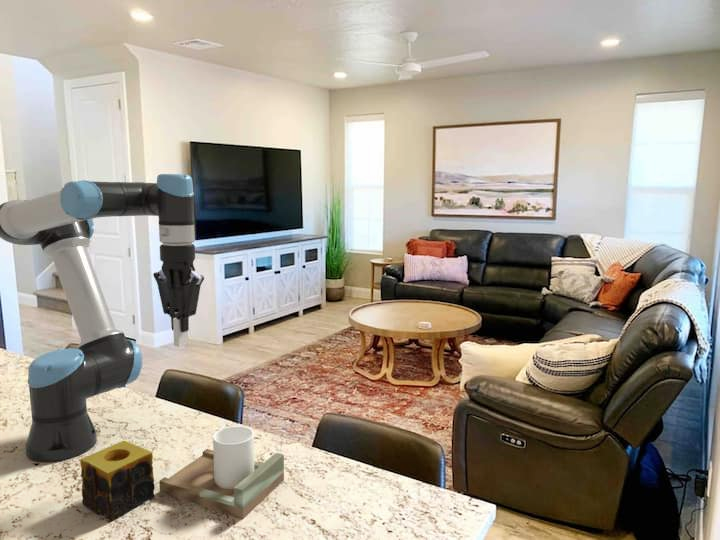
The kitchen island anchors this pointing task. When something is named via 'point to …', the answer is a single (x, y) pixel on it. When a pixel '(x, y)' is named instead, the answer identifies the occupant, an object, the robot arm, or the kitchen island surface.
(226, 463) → the cup
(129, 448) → the candle
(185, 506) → the kitchen island surface
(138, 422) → the kitchen island surface
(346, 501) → the kitchen island surface
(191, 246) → the robot arm
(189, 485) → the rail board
